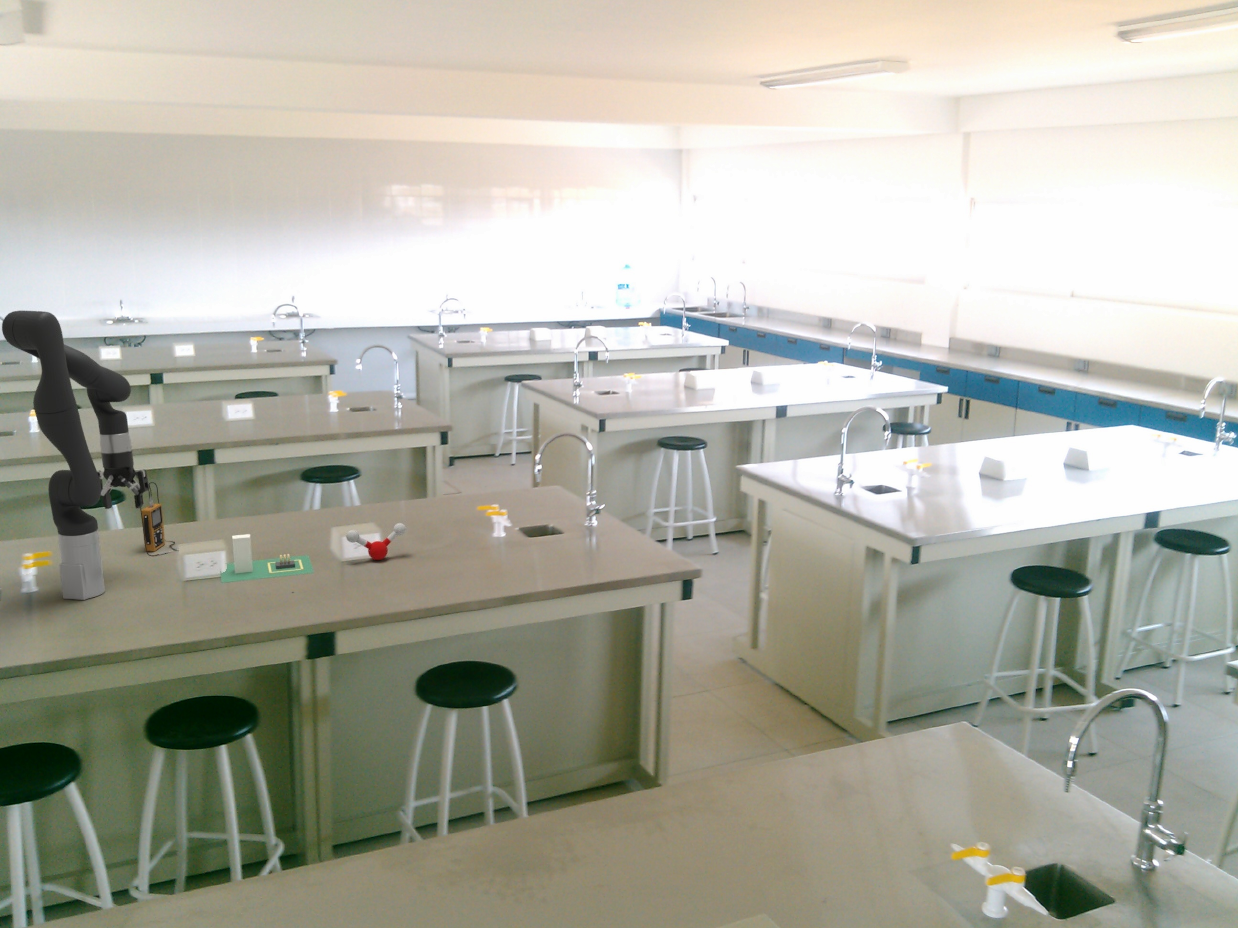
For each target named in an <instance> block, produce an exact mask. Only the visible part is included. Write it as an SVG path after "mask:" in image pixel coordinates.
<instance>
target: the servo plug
mask: <svg viewBox="0 0 1238 928" xmlns="http://www.w3.org/2000/svg"><path fill="white" fill-rule="evenodd" d="M231 538H232V550H233V552H232V553H233V563H234V566H235V573H245V572H253V566H252V561H253V556H252V555H253V554H252V552H253V551H252V544H251V543H252V540H251V538H252V537H251V534H250V533H247V534H237V535H231Z"/></svg>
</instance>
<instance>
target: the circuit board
mask: <svg viewBox="0 0 1238 928" xmlns="http://www.w3.org/2000/svg"><path fill="white" fill-rule="evenodd" d="M291 560H294V562H295V567H294V568H284V569H276V564H275V562H280V557H277V558H268V559H258V560H252V566H253V572H245V573H235V566H234V562H231V563H230V562H227V563H226V564H227V569H226V571H225V572H223V573H221V572H220V582H221V584H223V583H224V584H225V583H236V582H242V581H243V582H245V581H250V580H251V581H253V580H260V579H270V578H280V577H288V576H299V575H305V574H306V575H308V574H314V573H315V571H314V568H313V564H312V562H311V559H310V556H309V554H306V555H299V556H298V555H297V556H296V555H295V556H290V561H291ZM282 561H284V557H282ZM286 561H288V559H287V556H286Z"/></svg>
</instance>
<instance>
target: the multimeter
mask: <svg viewBox="0 0 1238 928" xmlns="http://www.w3.org/2000/svg"><path fill="white" fill-rule="evenodd" d="M148 484H149V490H148V491H147V492H148V500H149V501H148V506H145V507H144V508H142V507H141V508H139V509H140V516H141V524H142V532H143V534H142V535H143V543H144V544H143V545H144V551H145V552H146V554H147V555H148V556H149V557H150V556H151V557H157V556H162V555H165V553H166V554H168V553H170V552H173V551H174V550H175V551H178V550H177V549H178V548H177V547H174V546H173V545H175V543H176V542H175V541H174V542H173V543H172V544H170V545H168V546H169V548H171V549H173V550H168V551H163V552H159V553H157V554H153V555H152V554H149V552H156V551H157V550H158V549H161V547H164V546H165V543H166V541H165V540H166V539H165V529H164V519H163V518H164V516H163V507H162V506H163V505H162V503H160V500H159V489H158V485H157V483H156V482H148ZM151 484H154V485H155V487H156V493H157V494H156V495H157V497H156V498H157V502H158V503H154V501H153V495H152V489H151V486H150V485H151ZM163 545H164V546H163Z"/></svg>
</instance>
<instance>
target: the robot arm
mask: <svg viewBox="0 0 1238 928" xmlns="http://www.w3.org/2000/svg"><path fill="white" fill-rule="evenodd" d="M1 331H2V335H3V337H4V340H6V341H7V343H8V344H9V345H11V346H12V347H14V348H16V349H18V350H20V351H22V352H25V353H27V354H29V355H31V356H33V357H36V358H38V359H39V361H40V362H39V363H40V366H41V374H40V375H41V376H40V379H39V382H38V384H37V387H36V390H35V391H34V395H33V402H32V403H33V408H34V413H35V417H36V420H37V424H38V427H39V429H40V431H41V432H42V434H43V435H44V437H46V439H47V440H48V441H49V442H50V443H51V444H52V445H53V447H55V448H56V449H57V450H58V452H59V453H60V454H61V455H62V456H63V457H64V460H65V461H66V463H67V465H68V468H69V469H61V470H57V471H55V472H54V473H52V475H51V477H50V478H49V481H48V490H47V491H48V498H49V504H50V508H51V514H52V515H51V516H52V520H53V523H54V525H55V527H56V529H57V530H56V531H57V537H58V545H59V554H60V555H59V556H60V563H59V565H58V566H59V575H60V583H61V591H62V598H63V600H65V599H66V600H81V601H86V600H88V599H91V598H94V597H99V596H100V595H102V594H104V593H105V581H104V573H103V561H102V554H101V553H102V552H101V545H100V534H99V526H98V525H99V524H98V520H97V518H96V517H94V516H93V515H91V514H89V513H87V512H86V511H84V510H83V509H82V508H83V507H84V508H87V507H88V508H89V507H94V506H95V505H97V504H98V502H99V501H100V499H102V506H103V507H104V509H106V510H110V509H112V508H113V506H112V505H113V503H112V496H111V494H110V493H111V491H112V490H113V488H118V487H121V488H125V487H126V488H127V489H129V490H130V491H131V492H132V493H133V494H134V495H133V499H134V506H135V509H140V508H141V509H142V507H143V506H144V495H143V494H144V493H146V492H149V491H150V488H149V480H148V473H147V470H146V469H140V470H135V468H134V466H135V465H134V464H135V463H134V455H133V446H132V440H131V436H130V431H129V423H128V422H129V421H128V417H127V413H126V412H125V411H122V410H119V409H116V408H113V406H112V404H111V403H122V402H125V401H126V400H128V399H129V397H130V396H131V392H132V389H131V384H130V382H129V381H128V379H127V378H126V377H125V376H123V374H120V373H118V372H117V371H113V370H112V369H110V368H107V367H105V366H102V365H100V364H99V363H98V362H97V361H95V360H94V359H93V358H91V357H90V356H89V355H88V354H86V353H84V352H82V351H81V350H78V349H76V348H73V347H71V346H69V345H68V344H67V345H66V344H64V343H65V342H64V341H65V340H64V335H63V331H62V327H61V324H60V321H59V320H58V319H57V317H56V316H55V315H54V314H53V313H51V312H49V311H40V310H15V311H14V310H13V311H11V312H9V313H8V314H7V315H5V316H4V318H3V321H2V323H1ZM71 380H72V381H74V382H75V383H76V384H78V385H79V386H81V387H83V388H86V395H87V397H88V400H89V404H91V407H92V409H93V412H94V414H95V416H96V419H97V422H98V423H97V424H98V430H99V445H100V446H99V447H100V453H101V461H102V468H103V471H101V470H97V469H96V465H95V462H94V460H93V457H92V455H91V453H90V450H89V447H88V444H87V440H86V436H85V433H84V429H83V424H82V421H81V417H80V411H79V409H78V405H77V401H76V398H75V395H74V390H73V386H72V382H71ZM135 477H136V479H138V481H137V480H136V479H135ZM103 479H105V480H106V482H105V484H103ZM148 490H149V491H148ZM81 507H82V508H81Z"/></svg>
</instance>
